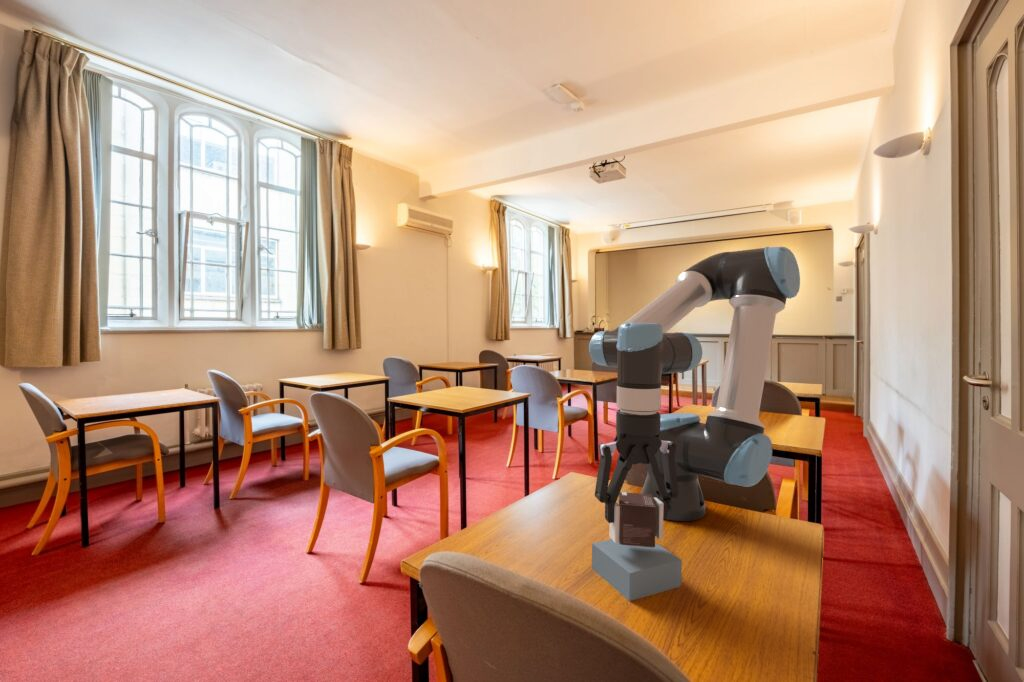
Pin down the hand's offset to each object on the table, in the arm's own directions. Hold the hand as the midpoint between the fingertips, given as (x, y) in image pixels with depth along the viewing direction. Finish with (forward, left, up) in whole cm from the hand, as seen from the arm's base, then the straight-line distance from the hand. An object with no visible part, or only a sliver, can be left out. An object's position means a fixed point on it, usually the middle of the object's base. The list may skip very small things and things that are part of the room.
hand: (635, 537), depth 83 cm
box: (0, 0, -1) cm, 1 cm away
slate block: (0, 0, -7) cm, 7 cm away
